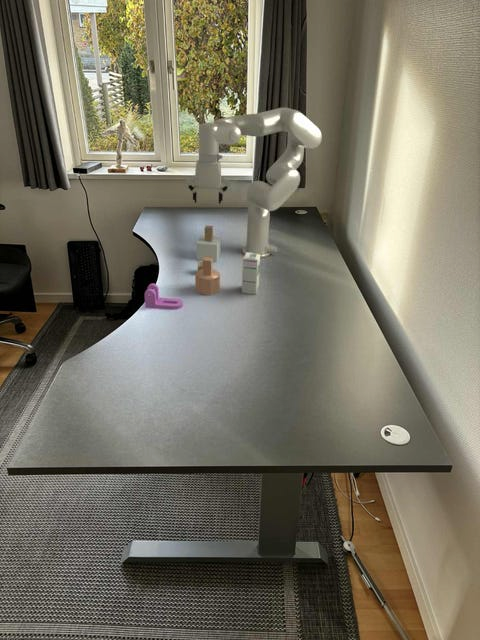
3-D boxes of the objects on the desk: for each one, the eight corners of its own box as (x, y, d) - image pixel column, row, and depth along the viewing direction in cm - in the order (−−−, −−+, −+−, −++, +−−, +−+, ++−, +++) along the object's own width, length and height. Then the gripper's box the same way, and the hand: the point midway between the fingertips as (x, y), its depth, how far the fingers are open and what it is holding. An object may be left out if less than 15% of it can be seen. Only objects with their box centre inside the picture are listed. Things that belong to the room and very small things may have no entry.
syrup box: (256, 294, 184) (258, 259, 177) (241, 292, 185) (242, 257, 178) (258, 288, 189) (261, 253, 182) (243, 286, 190) (245, 251, 183)
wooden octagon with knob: (221, 285, 190) (222, 255, 183) (217, 296, 182) (217, 265, 176) (198, 283, 191) (198, 253, 184) (193, 293, 183) (193, 262, 177)
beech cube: (207, 270, 201) (207, 262, 199) (207, 275, 198) (207, 266, 195) (197, 271, 200) (197, 262, 198) (198, 275, 197) (197, 266, 195)
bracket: (145, 307, 173) (144, 290, 170) (149, 300, 178) (147, 283, 174) (181, 310, 173) (181, 292, 169) (184, 302, 177) (183, 285, 174)
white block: (220, 254, 216) (220, 224, 209) (216, 262, 208) (217, 231, 201) (200, 252, 217) (200, 222, 210) (196, 260, 209) (196, 229, 202)
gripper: (230, 156, 190) (228, 200, 198) (185, 155, 188) (185, 198, 197) (231, 161, 183) (229, 205, 192) (185, 159, 181) (185, 204, 190)
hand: (207, 202), depth 194 cm, fingers open, 9 cm apart
